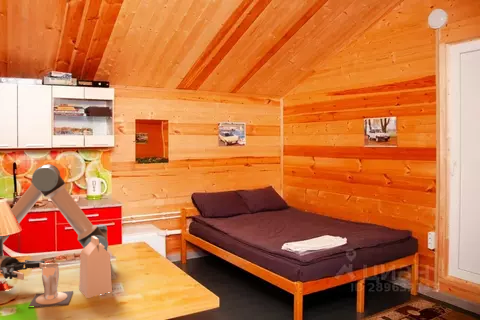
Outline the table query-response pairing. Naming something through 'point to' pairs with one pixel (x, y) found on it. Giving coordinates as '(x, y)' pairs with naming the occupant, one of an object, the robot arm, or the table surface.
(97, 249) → the milk
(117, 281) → the table surface
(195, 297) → the table surface
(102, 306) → the table surface
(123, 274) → the table surface
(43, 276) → the beer glass
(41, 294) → the mat
